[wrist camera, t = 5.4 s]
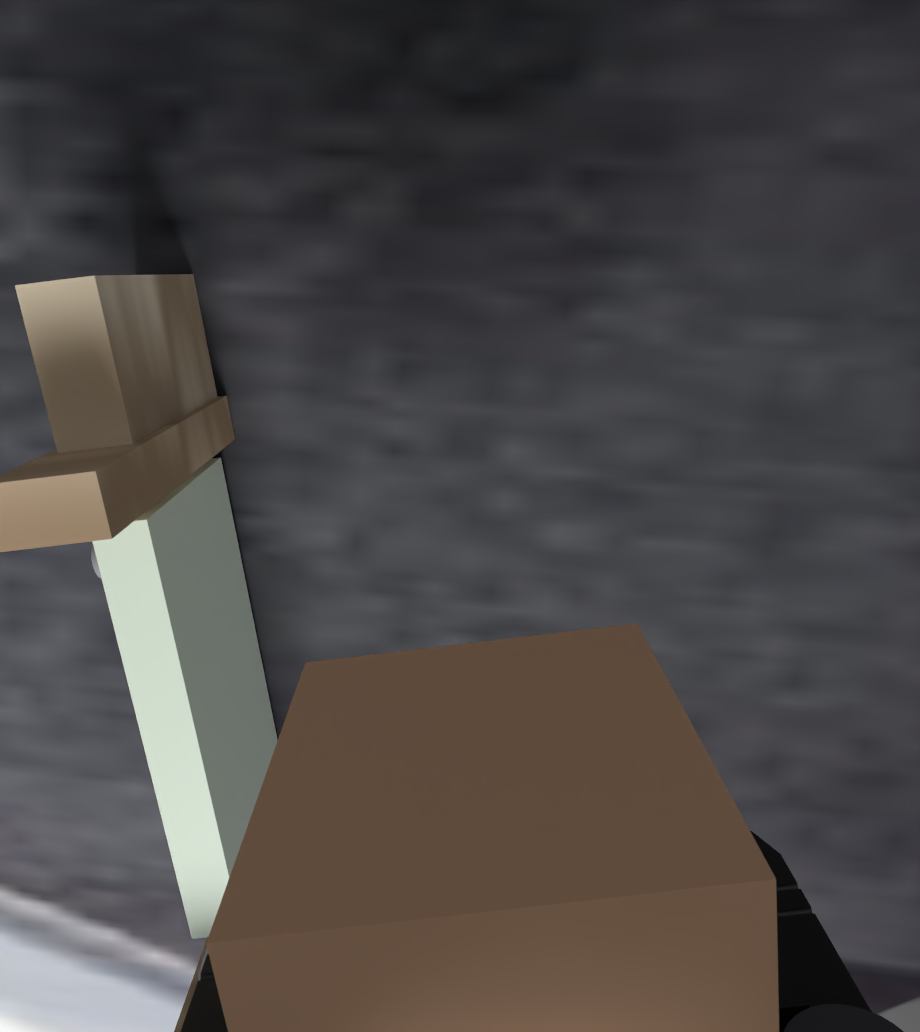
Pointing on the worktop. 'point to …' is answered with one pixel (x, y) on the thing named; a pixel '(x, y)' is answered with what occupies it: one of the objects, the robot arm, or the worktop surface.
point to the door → (192, 678)
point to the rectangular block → (496, 853)
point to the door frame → (113, 411)
